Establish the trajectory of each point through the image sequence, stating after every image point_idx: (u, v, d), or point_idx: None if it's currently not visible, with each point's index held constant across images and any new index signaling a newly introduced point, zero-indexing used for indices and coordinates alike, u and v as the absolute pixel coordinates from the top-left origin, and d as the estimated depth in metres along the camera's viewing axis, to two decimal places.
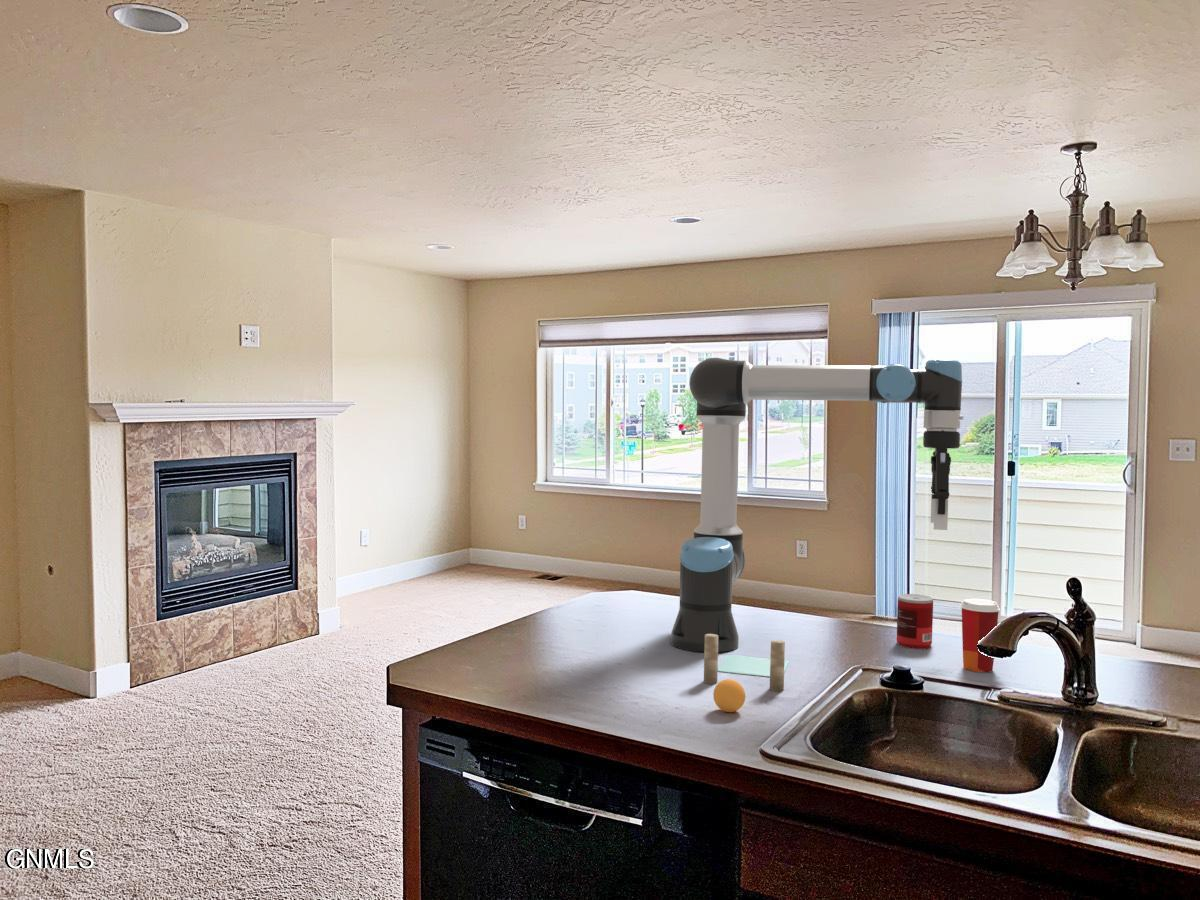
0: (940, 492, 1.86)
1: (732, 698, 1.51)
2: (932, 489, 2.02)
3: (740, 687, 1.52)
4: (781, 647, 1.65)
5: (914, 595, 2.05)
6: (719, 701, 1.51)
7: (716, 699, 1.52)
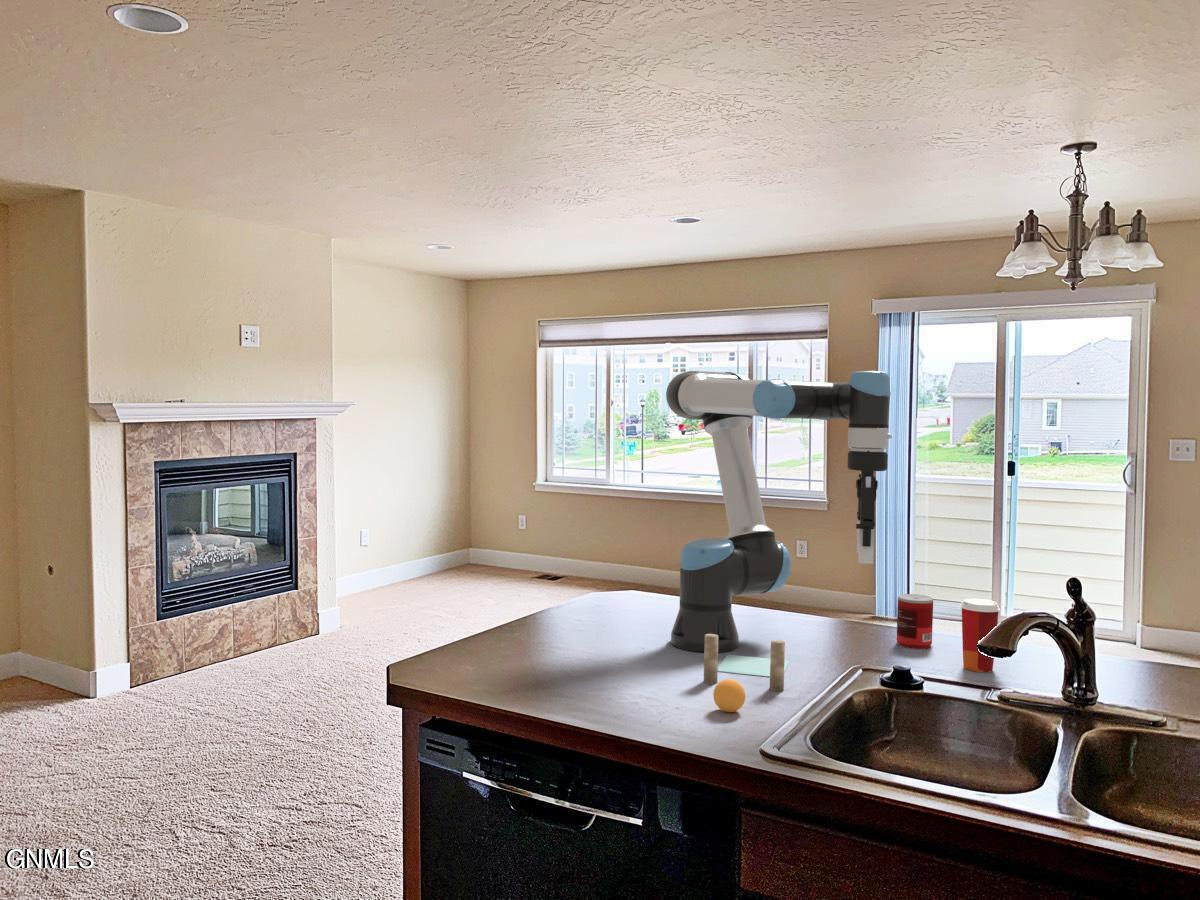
0: (865, 522, 1.64)
1: (732, 698, 1.51)
2: (858, 515, 1.81)
3: (740, 687, 1.52)
4: (781, 647, 1.65)
5: (914, 595, 2.05)
6: (719, 701, 1.51)
7: (716, 699, 1.52)
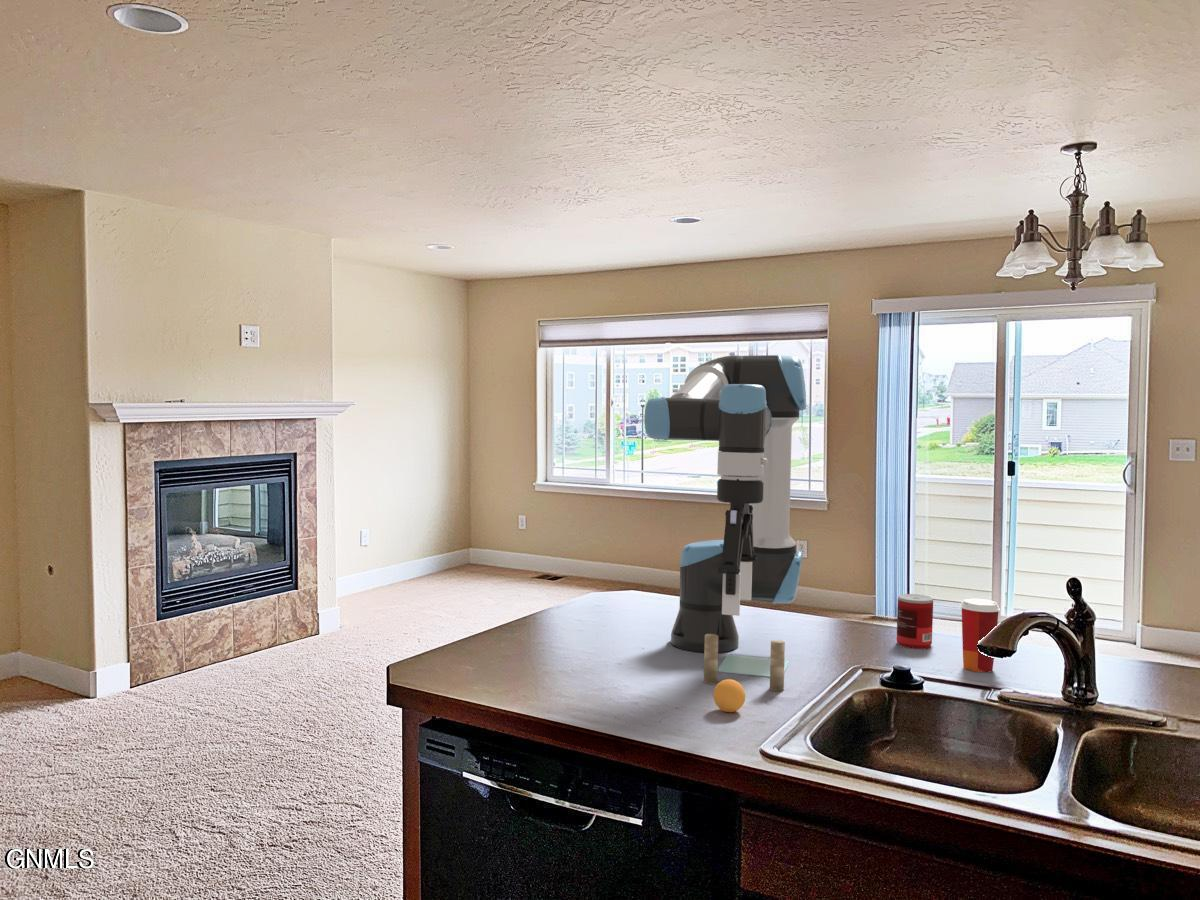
0: (726, 565, 1.37)
1: (732, 698, 1.51)
2: None
3: (740, 687, 1.52)
4: (781, 647, 1.65)
5: (914, 595, 2.05)
6: (719, 701, 1.51)
7: (716, 699, 1.52)
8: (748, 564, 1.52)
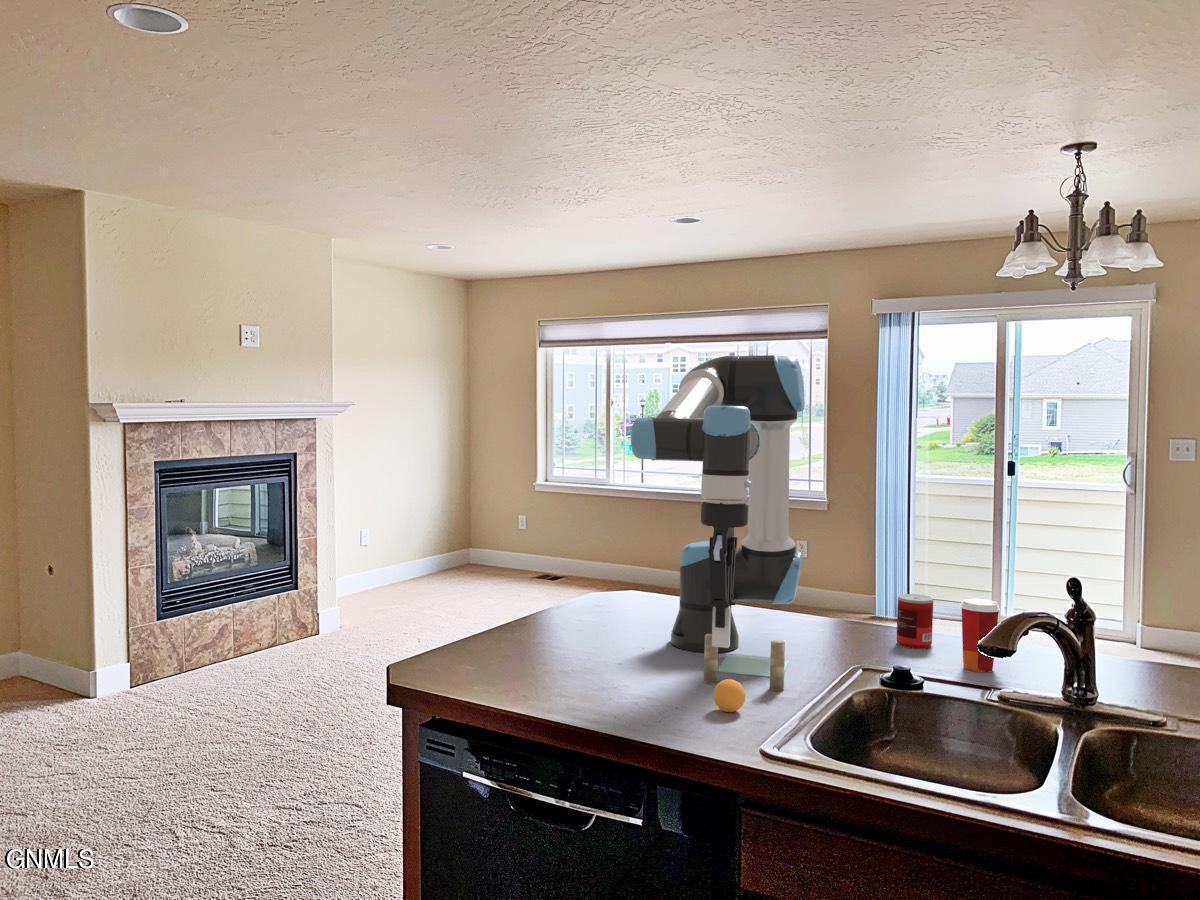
0: (715, 599, 1.40)
1: (732, 698, 1.51)
2: None
3: (740, 687, 1.52)
4: (781, 647, 1.65)
5: (914, 595, 2.05)
6: (719, 701, 1.51)
7: (716, 699, 1.52)
8: None
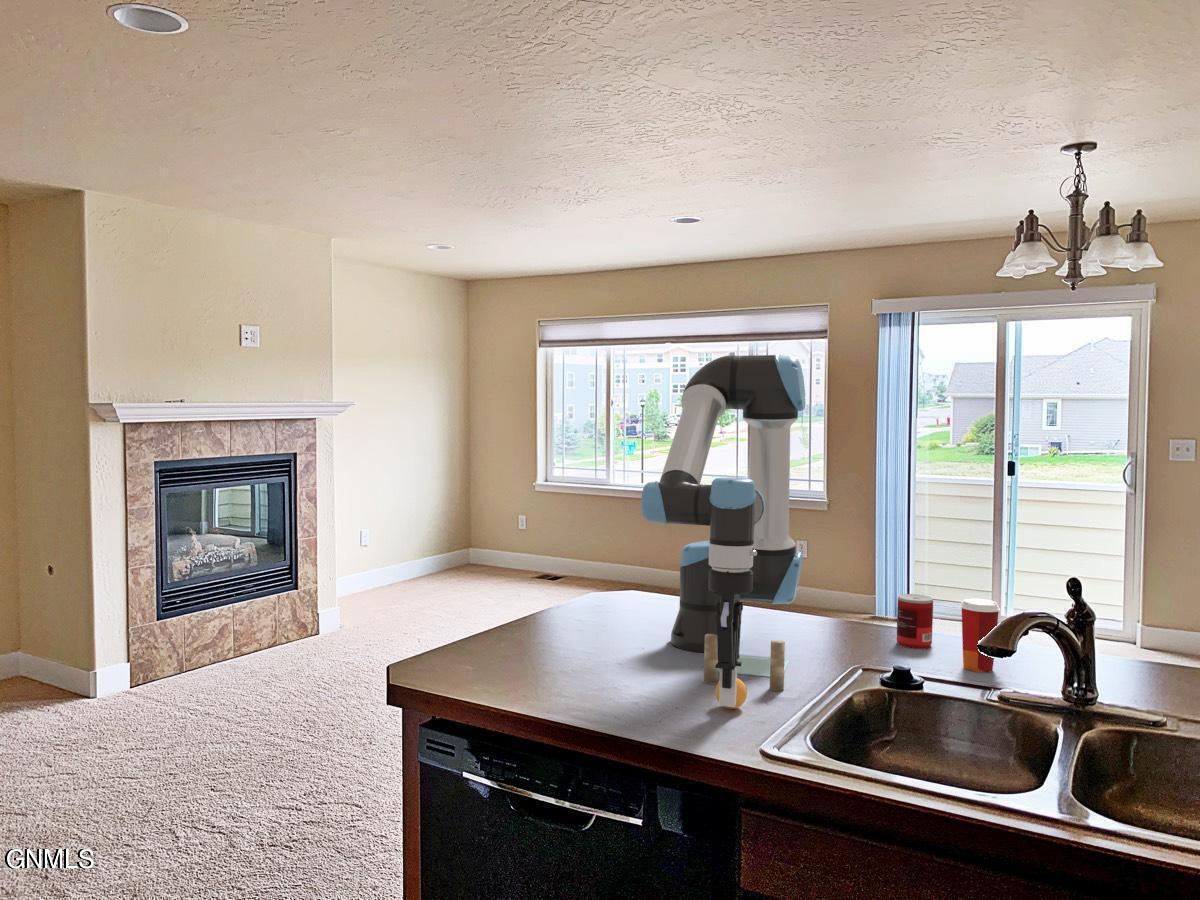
0: (722, 662, 1.48)
1: None
2: None
3: (742, 682, 1.55)
4: (781, 647, 1.65)
5: (914, 595, 2.05)
6: None
7: (718, 691, 1.54)
8: (733, 670, 1.51)
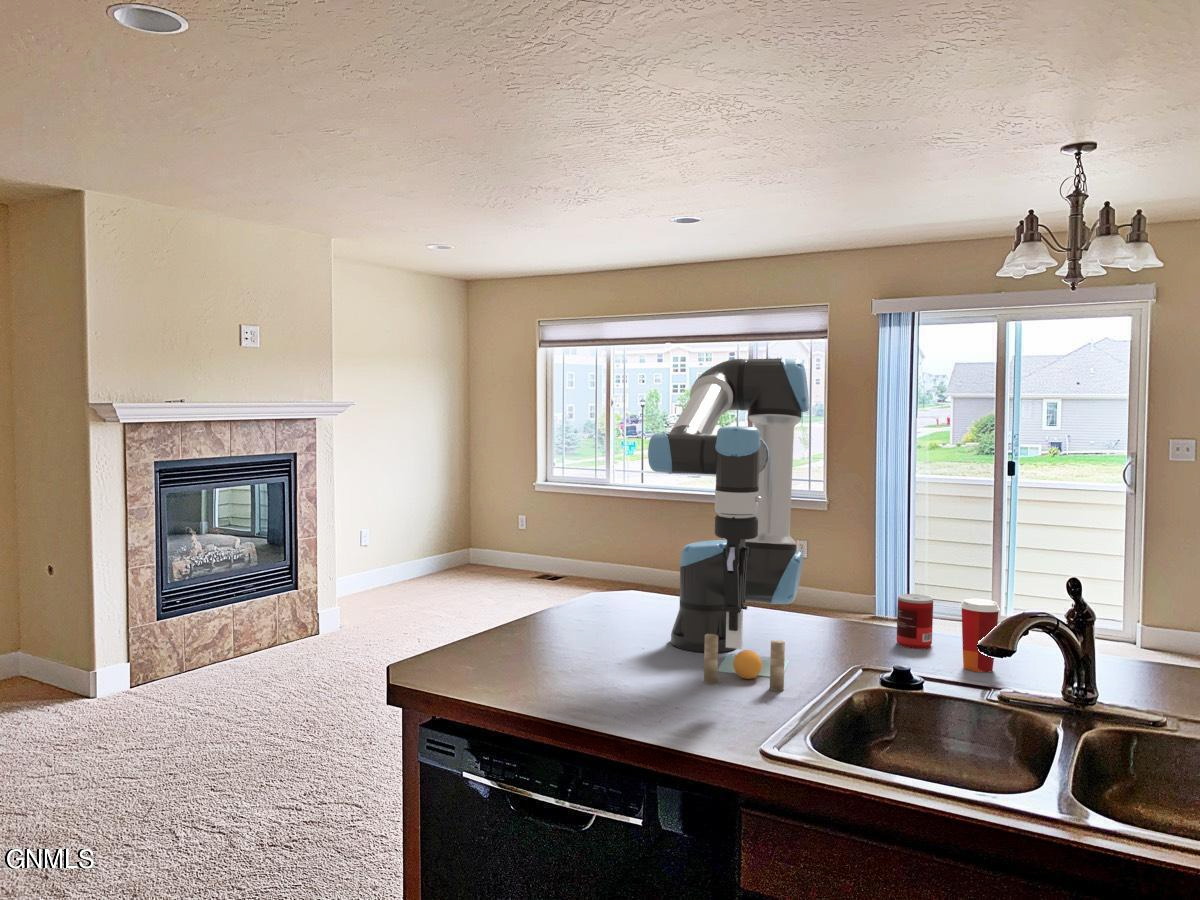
0: (729, 605, 1.53)
1: (751, 654, 1.72)
2: None
3: None
4: (781, 647, 1.65)
5: (914, 595, 2.05)
6: (740, 657, 1.72)
7: (736, 658, 1.73)
8: (739, 613, 1.56)
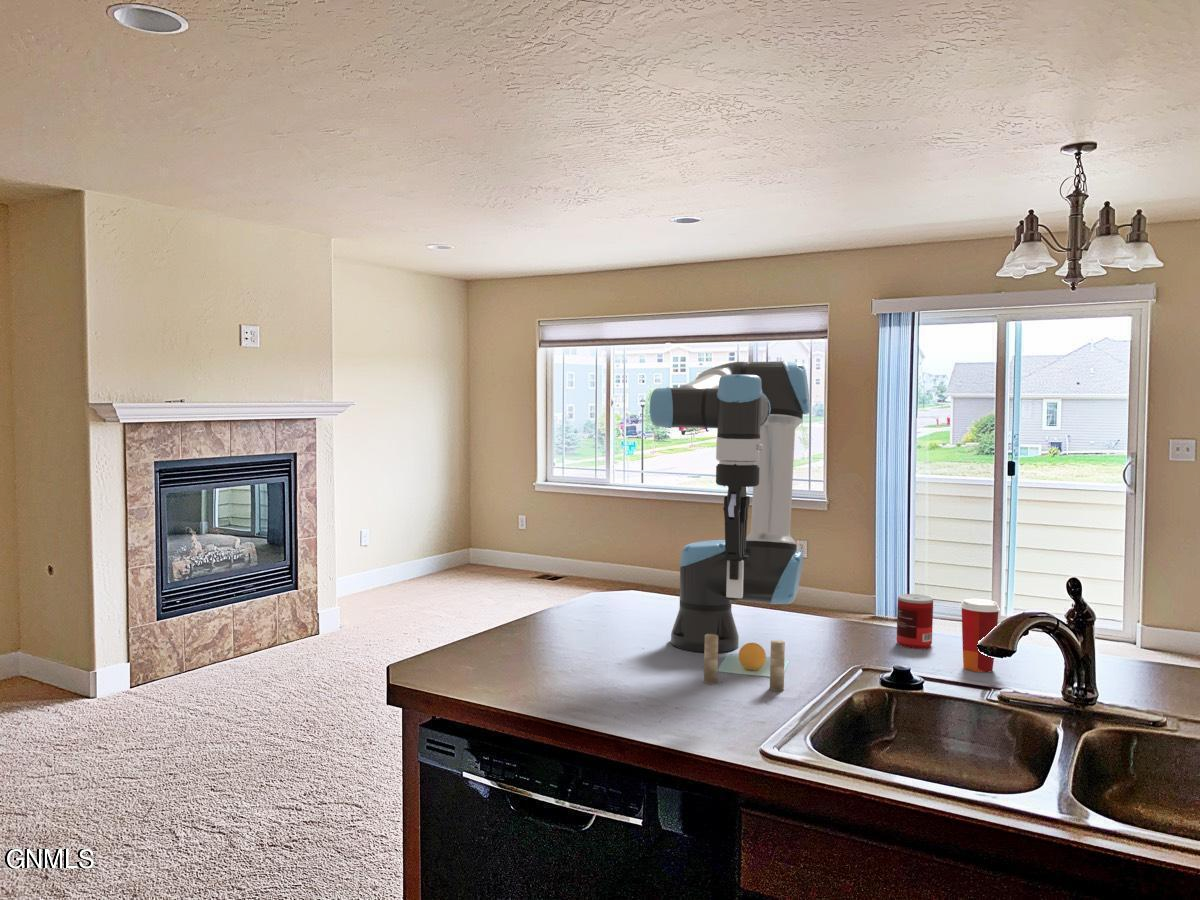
0: (730, 553, 1.52)
1: None
2: None
3: None
4: (781, 647, 1.65)
5: (914, 595, 2.05)
6: None
7: None
8: None
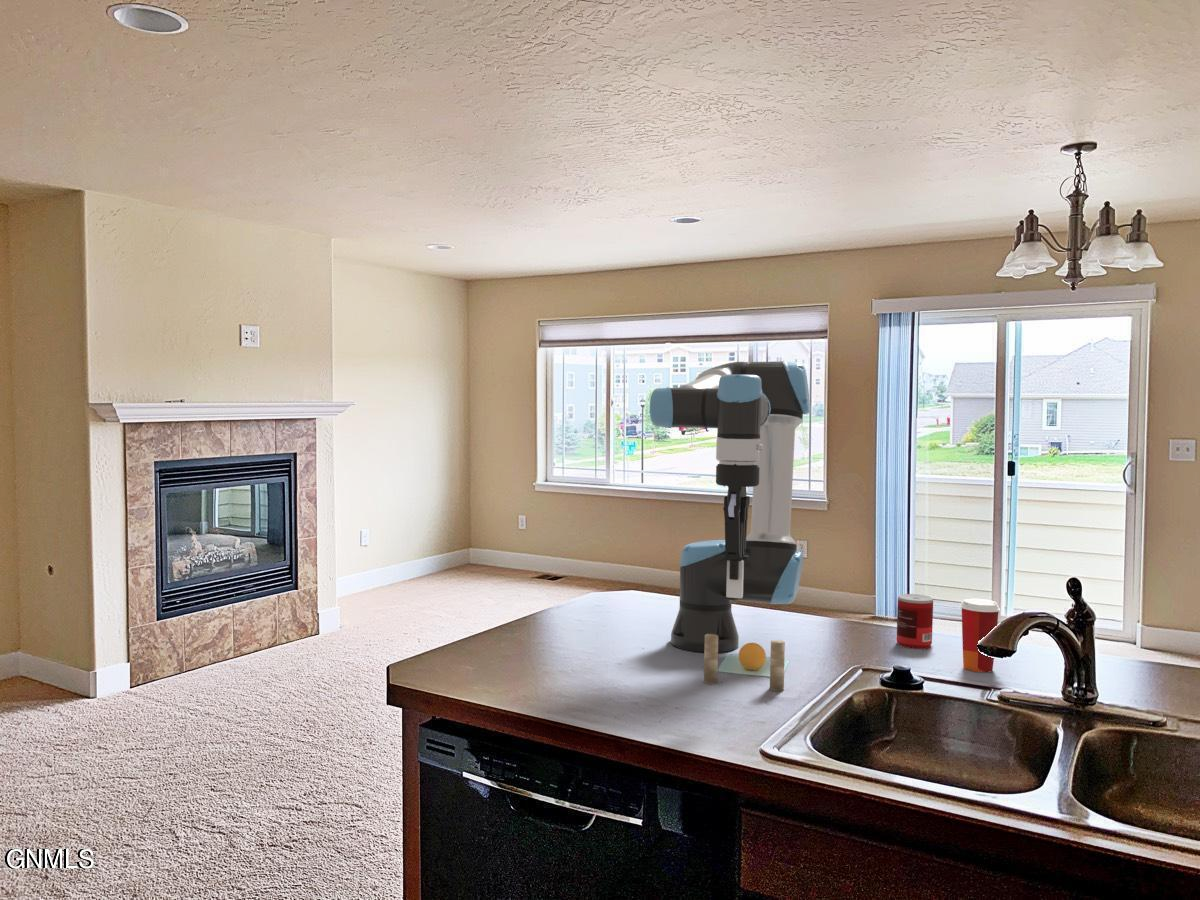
0: (730, 553, 1.52)
1: None
2: None
3: None
4: (781, 647, 1.65)
5: (914, 595, 2.05)
6: None
7: None
8: None
